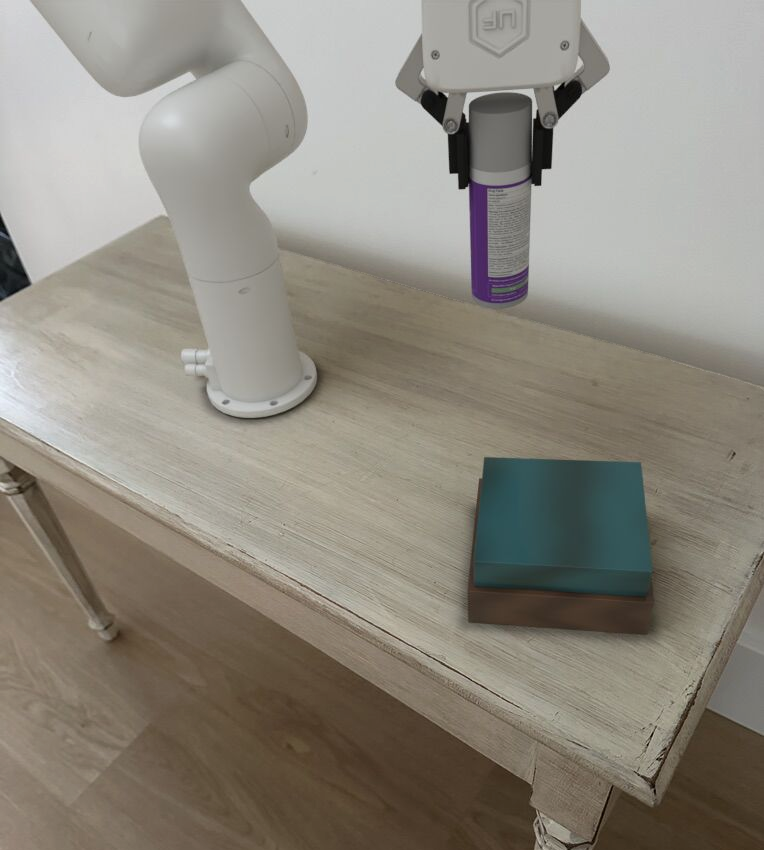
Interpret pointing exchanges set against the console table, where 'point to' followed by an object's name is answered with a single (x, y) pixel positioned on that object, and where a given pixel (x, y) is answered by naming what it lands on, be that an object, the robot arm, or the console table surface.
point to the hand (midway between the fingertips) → (500, 177)
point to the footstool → (561, 546)
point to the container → (500, 197)
